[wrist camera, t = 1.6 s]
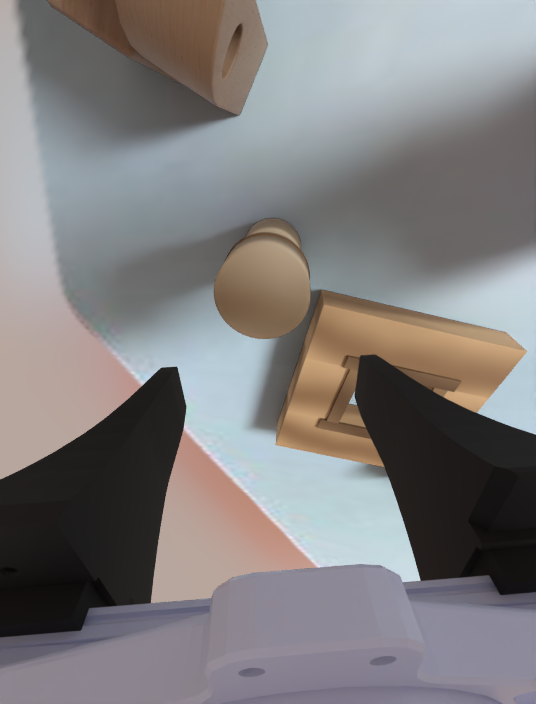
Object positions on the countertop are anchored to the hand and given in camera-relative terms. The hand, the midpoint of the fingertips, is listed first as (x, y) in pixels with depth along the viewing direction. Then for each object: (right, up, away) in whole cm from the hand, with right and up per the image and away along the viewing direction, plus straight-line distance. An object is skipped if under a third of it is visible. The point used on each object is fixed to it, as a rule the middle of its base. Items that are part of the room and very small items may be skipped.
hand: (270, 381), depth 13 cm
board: (+9, -2, +14) cm, 17 cm away
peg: (0, +8, +8) cm, 12 cm away
